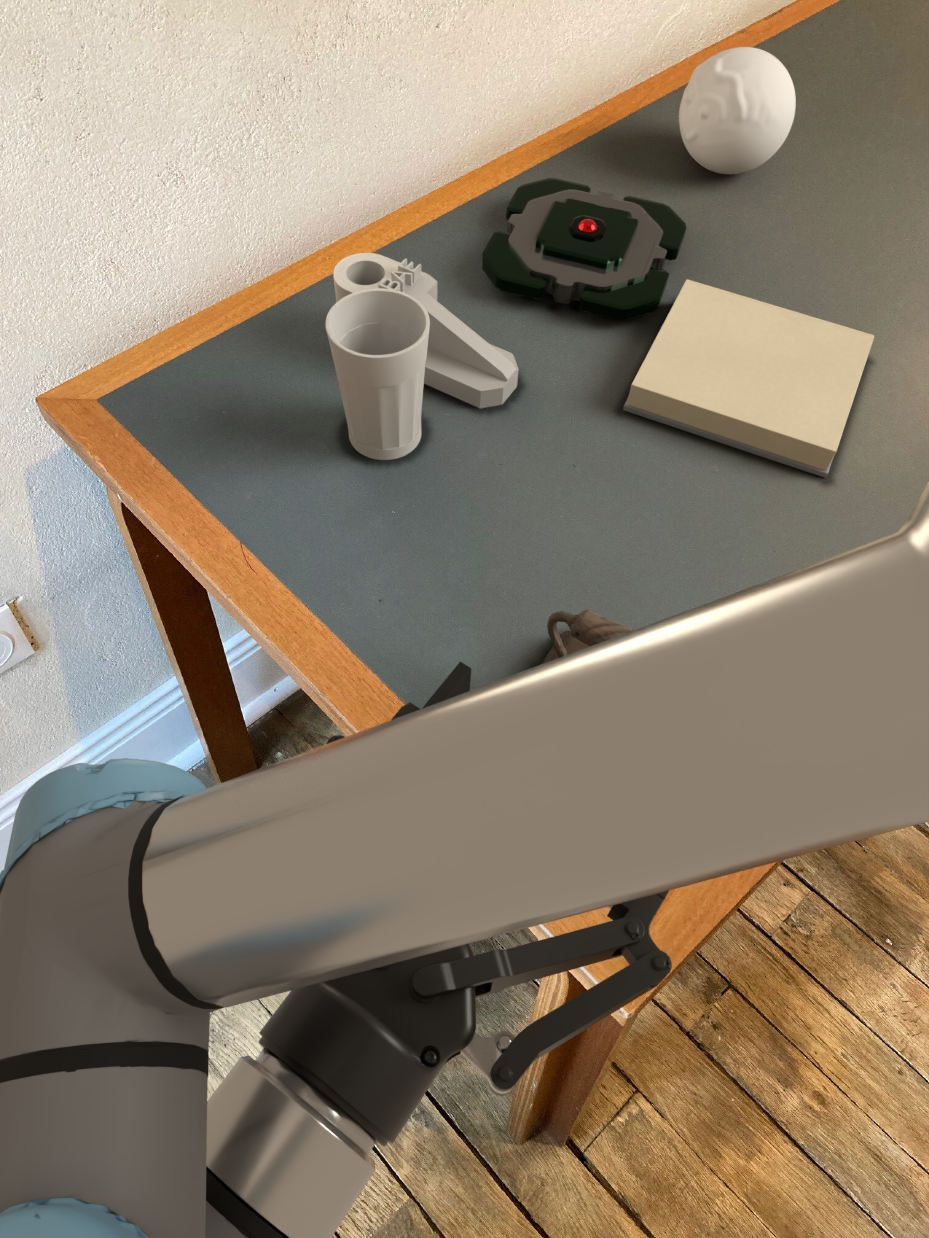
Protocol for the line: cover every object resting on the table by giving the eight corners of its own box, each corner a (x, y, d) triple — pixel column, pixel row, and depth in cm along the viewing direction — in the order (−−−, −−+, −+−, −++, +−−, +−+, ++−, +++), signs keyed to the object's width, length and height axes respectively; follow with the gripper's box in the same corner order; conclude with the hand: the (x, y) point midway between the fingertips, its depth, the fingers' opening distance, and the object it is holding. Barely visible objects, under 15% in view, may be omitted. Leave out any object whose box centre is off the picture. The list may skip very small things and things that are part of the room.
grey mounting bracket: (493, 414, 83) (498, 343, 77) (328, 341, 88) (319, 268, 81) (524, 377, 86) (532, 305, 79) (362, 307, 91) (356, 234, 84)
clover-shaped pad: (524, 193, 102) (528, 152, 98) (687, 230, 99) (697, 190, 95) (470, 294, 92) (471, 253, 88) (648, 338, 89) (658, 298, 86)
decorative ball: (648, 149, 107) (670, 37, 97) (736, 127, 110) (766, 16, 100) (706, 207, 101) (735, 95, 91) (797, 182, 104) (835, 70, 94)
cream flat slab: (865, 360, 88) (877, 334, 86) (825, 478, 80) (838, 454, 78) (678, 302, 92) (685, 277, 90) (622, 410, 84) (628, 385, 82)
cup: (372, 388, 85) (364, 275, 75) (448, 422, 83) (449, 311, 73) (321, 443, 81) (304, 332, 71) (398, 480, 79) (392, 372, 69)
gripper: (134, 951, 48) (387, 659, 58) (548, 1294, 41) (758, 894, 50) (89, 909, 42) (381, 590, 51) (570, 1306, 34) (804, 846, 44)
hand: (568, 740), depth 51 cm, fingers open, 13 cm apart
